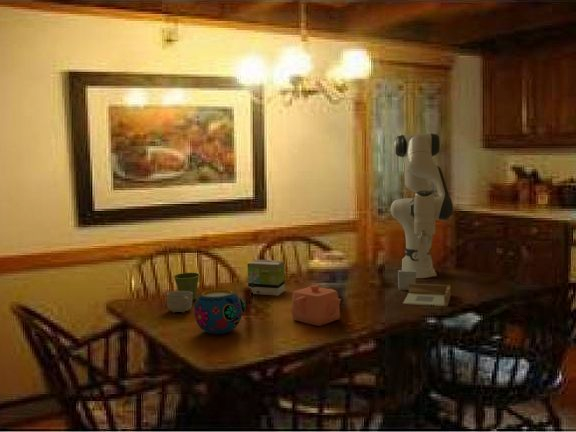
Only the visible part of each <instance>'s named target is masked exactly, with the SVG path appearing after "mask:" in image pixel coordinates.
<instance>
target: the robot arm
mask: <svg viewBox="0 0 576 432" xmlns="http://www.w3.org/2000/svg"><path fill="white" fill-rule="evenodd" d="M441 147H442V142H441V139H440V136H439V135H438V134H436V133H413V134H412V133H411V134H405V135H404V134H401V135H398V136H396V137H395V138H394V142H393V151H394V153H395V155H396V156H397V157H399V158H405V160H404V161H405V162H404V186H405V187H406V189H408V190H409V191H411V192H414V197H413V198H411V197H408V198H407V197H406V198H399V199H395V200H393V202H392V203H391V205H390V215H391V216H392V218H394V219H395V220H397V221H398V223H399V224H400V226H402V229H403V232H404V236H405V247H404V253H405V254H404V255H405V256H404V257H403V258H402V259H401V270H415V271H416V279H426V278H432V277H437V276H438V275H437V272H436V269H435V268H434V265H433V259H432V258H431V269H430V271H417V267H418V266H419V260H418V255H419V254H421V256H422V262H423V263H426V262H427V254H428V255H431V254H430V249H431V248H432V246H433V245H432V244H433V235H435V234H436V220H442V221H443V220H444V221H447V220H448V219H450V218H451V216H453V214H454V205H453V204H454V203H453V202H452V199H451V195H450V194H449V190H448V187H447V183H446V179H445V176H444V174H443V170H442V169H441V166H438V165H437V164H436V163H435V161H434V160H433V157H434V156H436V155H438V154H439V153H440V151H441ZM429 182H431V183H433V184H434V185H435V187H436V192H437V195H438V196H435V195H434V193H433V192H432V191H431V188H430V185H429Z"/></svg>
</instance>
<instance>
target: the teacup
mask: <svg viewBox="0 0 576 432" xmlns="http://www.w3.org/2000/svg"><path fill="white" fill-rule="evenodd" d="M192 294H193V293H192V292H190V291H178V290H172V291H168V292H167V293H166V306H167V308H168V310H170V311H171V312H172V313H175V312H182V313H186V312H185V311H187V312H188V311H190V309H191V308H192V306H193V300H192Z"/></svg>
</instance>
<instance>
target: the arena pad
mask: <svg viewBox="0 0 576 432" xmlns="http://www.w3.org/2000/svg"><path fill="white" fill-rule="evenodd" d="M450 297H451V295H450ZM449 302H450V300H449V301H448V305H449ZM402 305H410V306H411V305H412V306H415V305H416V306H431V305H432V307H434V306H435V307H448V305H446V306H444V295H443V294H421V293H409V292H408V293H407V295H406V297H405V298H404V301H402ZM433 305H434V306H433Z"/></svg>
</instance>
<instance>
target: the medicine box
mask: <svg viewBox="0 0 576 432" xmlns="http://www.w3.org/2000/svg"><path fill="white" fill-rule="evenodd" d="M397 282H398V283H397V286H398V291H409V284H417V278H416V271H415V270H402V269H398V270H397Z"/></svg>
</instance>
